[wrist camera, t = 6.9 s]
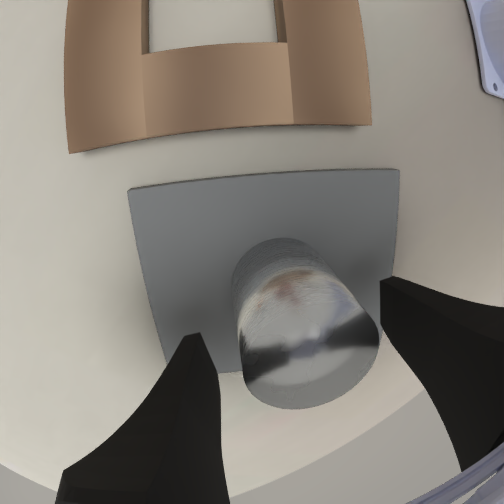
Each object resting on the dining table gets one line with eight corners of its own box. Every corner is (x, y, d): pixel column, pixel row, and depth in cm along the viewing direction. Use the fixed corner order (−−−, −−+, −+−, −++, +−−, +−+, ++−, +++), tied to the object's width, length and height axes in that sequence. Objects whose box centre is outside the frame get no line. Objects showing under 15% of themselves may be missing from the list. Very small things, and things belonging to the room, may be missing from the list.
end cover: (316, 225, 13) (377, 281, 8) (331, 308, 15) (378, 383, 10) (218, 254, 13) (223, 329, 8) (245, 334, 15) (261, 421, 10)
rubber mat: (392, 168, 13) (399, 170, 13) (375, 339, 17) (379, 345, 16) (130, 188, 12) (127, 191, 11) (172, 369, 16) (171, 376, 15)
